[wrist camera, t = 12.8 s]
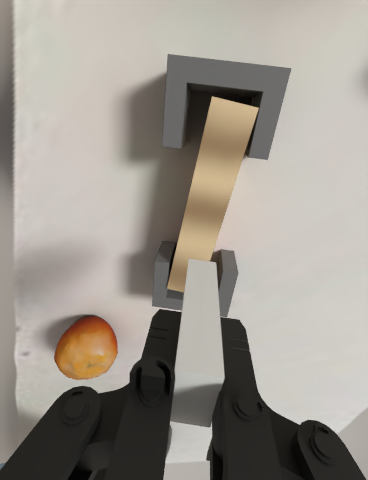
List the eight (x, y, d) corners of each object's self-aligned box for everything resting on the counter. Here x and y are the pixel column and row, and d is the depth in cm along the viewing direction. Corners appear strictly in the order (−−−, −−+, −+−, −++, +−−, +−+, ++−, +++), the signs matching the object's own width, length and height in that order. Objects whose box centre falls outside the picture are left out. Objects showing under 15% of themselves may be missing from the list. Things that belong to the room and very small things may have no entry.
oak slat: (200, 269, 30) (198, 296, 25) (173, 263, 30) (166, 288, 25) (248, 110, 22) (258, 108, 17) (211, 101, 22) (212, 96, 17)
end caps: (224, 291, 31) (226, 317, 27) (159, 282, 31) (152, 306, 27) (274, 78, 20) (291, 68, 16) (175, 67, 20) (167, 54, 16)
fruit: (46, 318, 34) (42, 361, 27) (102, 296, 36) (111, 330, 30) (67, 356, 37) (68, 403, 31) (116, 334, 40) (127, 372, 33)
